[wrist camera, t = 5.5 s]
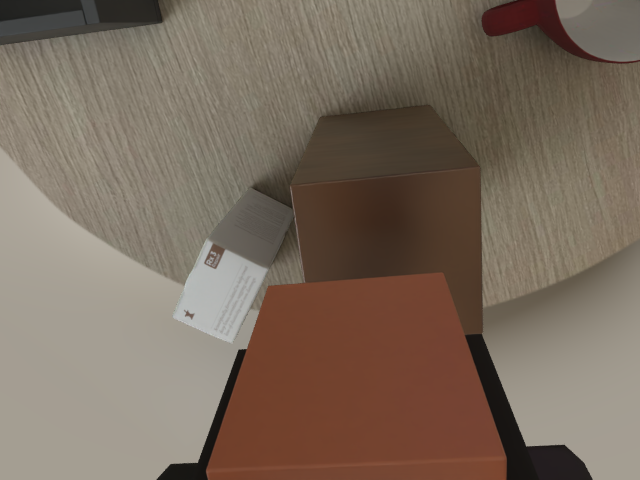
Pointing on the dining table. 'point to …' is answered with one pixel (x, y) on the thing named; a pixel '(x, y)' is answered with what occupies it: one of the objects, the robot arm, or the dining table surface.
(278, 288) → the block
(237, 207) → the cosmetic box
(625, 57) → the mug
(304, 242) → the stand
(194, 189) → the dining table surface
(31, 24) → the bin
